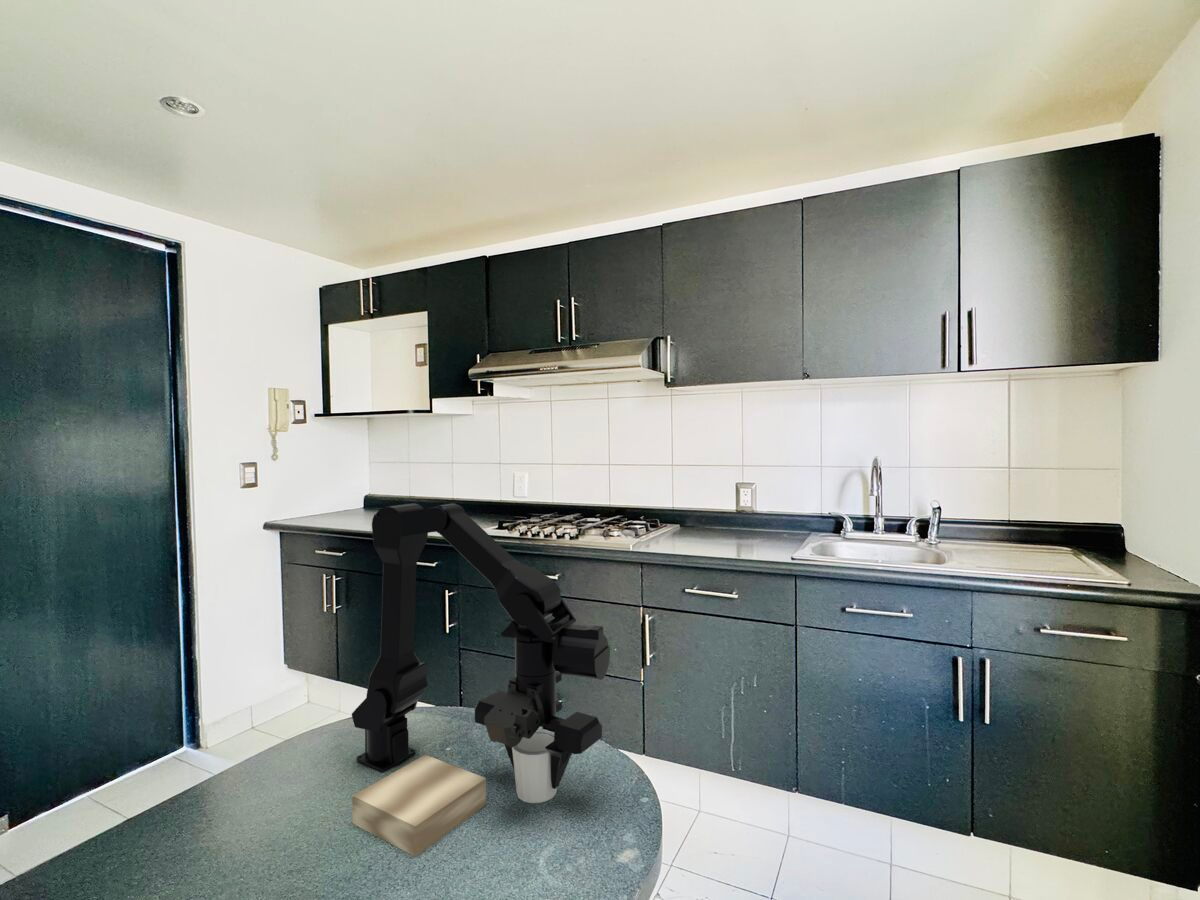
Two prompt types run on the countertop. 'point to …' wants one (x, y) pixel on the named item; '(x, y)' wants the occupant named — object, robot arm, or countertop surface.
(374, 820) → the birch block
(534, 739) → the shot glass
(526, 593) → the robot arm
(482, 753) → the countertop surface
